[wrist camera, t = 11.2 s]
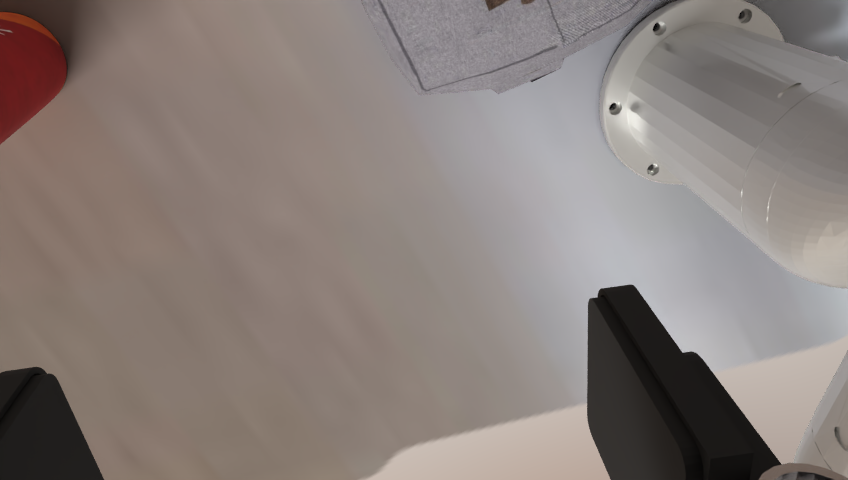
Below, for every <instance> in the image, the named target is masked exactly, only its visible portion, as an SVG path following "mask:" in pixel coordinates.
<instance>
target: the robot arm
mask: <svg viewBox="0 0 848 480" xmlns="http://www.w3.org/2000/svg"><path fill="white" fill-rule="evenodd" d="M740 13H741V16H740V17H739V14H740ZM738 17H739V18H738ZM656 23H657V28H656V29H655V30H653V27H654V25H655V24H656ZM612 103H614V106H613V107H612V108H609V107H610V105H611V104H612ZM599 113H600V120H601V127H602V130H603V133H604V136H605V138H606V141H607V143H608V145H609V146H610V148H611V149H612V151H613V152H614V154H615V155H616V156H617V157H618V158H619V160H620V161H621V162H622V163H623V164H624V165H625V166H627V167H628V168H629V169H631V170H632V171H633V172H634V173H636V174H637V175H639V176H641V177H643V178H645V179H647V180H650V181H654V182H659V183H663V184H677V185H683V184H684V185H686V186H687V187H688V188H689V189H690V190H691V191H693V192H694V193H695V194H696V195H697V196H699V197H700V198H701V199H702V200H703V201H704V202H706V203H707V204H708V205H709V206H710V207H711V208H713V209H714V210H715V211H716V212H717V213H719V214H720V215H721V216H722V217H723V218H724V219H726V220H727V221H728V222H729V223H730V224H731V225H733V226H734V227H735V228H736V229H737V230H739V231H740V232H741V233H742V234H743V235H744V236H746V237H747V238H748V239H749V240H750V241H751V242H753V243H754V244H755V245H756V246H757V247H759V248H760V249H761V250H762V251H763V252H764V253H765V254H766V255H768V256H769V257H770V258H771V259H772V260H774V261H775V262H776V263H777V264H779V265H780V266H782V267H783V268H785V269H786V270H787V271H789V272H791V273H793V274H794V275H796V276H798V277H801V278H803V279H805V280H807V281H810V282H813V283H817V284H821V285H825V286H829V287H836V288H847V289H848V62H846V61H843V60H841V58H840V57H838V56H837V55H836V56H827V55H824V54H821V53H818V52H815V51H812V50H808V49H805V48H802V47H799V46H796V45H793V44H790V43H786V42H785V41H784V39H783V36H782V34H781V32H780V30H779V28H778V27H777V26H776V24H775V23H774V22H773V21H772V19H771V18H770V17H769V16H768V15H767V14H766V13H764V12H763V11H762V10H761V9H759V8H758V7H757V6H755V5H753V4H751V3H748V2H746V1H744V0H677V1H674V2H672V3H669V4H667V5H666V6H664V7H662V8H660V9H658V10H657V11H655V12H653V13H652V14H650V15H649V16H648V17H647V18H645V19H644V20H643V21H642V22H640V23H639V24H638V25H637V26H636V27H635V28H634V29H633V30H632V31H631V32H630V33H629V34H628V36H627V37H626V38H625V39H624V40H623V41H622V43H621V44H620V46H619V47H618V49H617V51H616V52H615V54H614V55H613V57H612V59H611V61H610V63H609V66H608V68H607V70H606V73H605V75H604V79H603V83H602V87H601V92H600V104H599ZM650 165H651V166H650ZM649 166H650V167H649ZM648 167H649V168H648ZM587 416H588V424H589V428H590V432H591V435H592V437H593V440H594V442H595V444H596V446H597V449H598V451H599V453H600V456H601V458H602V460H603V463H604V465H605V467H606V470H607V472H608V474H609V476H610V479H611V480H848V351H847V353H846V355H845V357H844V359H843V361H842V362H841V364H840V366H839V368H838V370H837V372H836V373H835V375H834V377H833V379H832V381H831V383H830V385H829V387H828V388H827V390H826V392H825V394H824V396H823V398H822V400H821V401H820V403H819V405H818V407H817V409H816V411H815V413H814V416H813V418H812V420H811V421H810V423H809V425H808V427H807V429H806V431H805V433H804V436H803V438H802V440H801V442H800V445H799V447H798V449H797V452H796V455H795V459H794V463H787V464H783V465H782V464H781V463H780V462H779V460H778V459H777V458H776V456H775V455H774V454H773V453H772V451H771V450H770V448H769V447H768V446H767V444H766V443H765V442H764V441H763V439H762V438H761V437H760V435H759V434H758V433H757V431H756V430H755V429H754V427H753V426H752V425H751V423H750V422H749V421H748V419H747V418H746V417H745V415H744V414H743V413H742V411H741V410H740V409H739V407H738V406H737V405H736V403H735V402H734V401H733V399H732V398H731V397H730V395H729V394H728V393H727V391H726V390H725V389H724V387H723V386H722V385H721V383H720V382H719V381H718V379H717V378H716V377H715V375H714V374H713V373H712V371H711V370H710V369H709V367H708V366H707V365H706V363H705V362H704V361H703V359H702V358H701V357H700V356H699V355H698V354H697V353H694V352H685V353H682V351H681V350H680V349H679V347H678V346H677V344H676V343H675V342H674V340H673V339H672V338H671V336H670V335H669V333H668V332H667V331H666V329H665V328H664V326H663V325H662V324H661V322H660V321H659V319H658V318H657V317H656V315H655V314H654V312H653V311H652V310H651V308H650V307H649V305H648V304H647V303H646V301H645V300H644V298H643V297H642V296H641V294H640V293H639V291H638V290H637V289H636V287H635V286H634V285H624V286H617V287H610V288H603V289H600V290H599V293H598V298H591V299H590V300H589V302H588V392H587ZM0 480H104V479H103V476H102V474H101V472H100V470H99V468H98V466H97V464H96V461H95V459H94V457H93V455H92V453H91V451H90V449H89V446H88V444H87V442H86V440H85V438H84V436H83V434H82V431H81V429H80V427H79V425H78V423H77V421H76V418H75V416H74V414H73V412H72V410H71V408H70V406H69V403H68V401H67V399H66V397H65V395H64V393H63V391H62V388H61V386H60V384H59V382H58V380H57V378H56V377H55V376H54V375H53V374H47V373H46V372H45V371H44V370H43V369H42V368H39V367H32V368H25V369H18V370H11V371H5V372H2V373H0Z"/></svg>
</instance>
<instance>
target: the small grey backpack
mask: <svg viewBox="0 0 848 480" xmlns="http://www.w3.org/2000/svg"><path fill="white" fill-rule="evenodd" d="M361 1H362V4H363V6H364V9H365V11H366V13H367V15H368V17H369V19H370V21H371V22H372V24H373V26H374V28H375V30H376V32H377V34H378V35H379V37H380V39H381V41H382V43H383V45H384V47H385V49H386V50H387V52H388V54H389V56H390V58H391V59H392V61H393V62H394V63H395V65H396V66H397V67H398V69H399V70H400V71H401V72H402V74H403V75H404V76H405V78H406V79H407V80H408V81H409V83H410V84H411V85H412V87H413V88H414V89H415V91H416V92H417V93H418V94H419V95H431V94H442V93H453V92H464V91H476V90H487V89H492V90H494V91H495V92H496V93H498V94H499V93H502V92H504V91H507V90H509V89H512V88H514V87H516V86H519V85H521V84H524V83H526V82H528V81H531V82H533V81H535V80H537V79H539V78H541V77H543V76H545V75H548V74H550V73H552V72H554V71H556V70H558V69H560V68H561V66H562V63H563V60H564V58H565V57H567V56H569V55H571V54H573V53H575V52H577V51H579V50H581V49H583V48H585V47H587V46H589V45H590V44H592V43H594V42H596V41H598V40H600V39H602V38H604V37H606V36H608V35H610V34H612V33H614V32H616V31H618V30H620V29H621V28H623V27H625V26H627V25H628V24H629V23H630V22H631V21H632V20H633V19H634V18H635V17H636V16H637V15H638V14H639V13H640V12H641V11H642V10H643V9H644V8H646V7H647V6H648V5H649V4H650V3H651V2H652V1H653V0H361Z"/></svg>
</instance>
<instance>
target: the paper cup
mask: <svg viewBox="0 0 848 480" xmlns="http://www.w3.org/2000/svg"><path fill="white" fill-rule="evenodd" d="M66 75H67V64H66V59H65V55H64V52H63V50H62V48H61V46H60V44H59V43H58V41H57V40H56V38H55V37H54V36H53V35H52V33H51V32H50V31H49V30H47V29H46V28H45V27H44V26H43V25H41V24H40V23H38V22H37V21H35V20H33V19H31V18H29V17H27V16H24V15H21V14H17V13H11V12H0V144H1V143H2V142H4V141H5V140H6V139H7V138H8V137H10V136H11V135H12V134H13V133H14V132H16V131H17V130H18V129H19V128H20V127H21V126H23V125H24V124H25V123H26V122H27V121H29V120H30V119H31V118H32V117H33V116H34V115H36V114H37V113H38V112H39V111H40V110H41V109H42V108H44V107H45V106H46V105H47V104H48V103H49V102H50V101H51V100H52V99H53V98H54V97H55V96H56V95H57V94H58V93H59V92H60V90H61V89H62V87H63V85H64V83H65V80H66Z"/></svg>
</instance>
